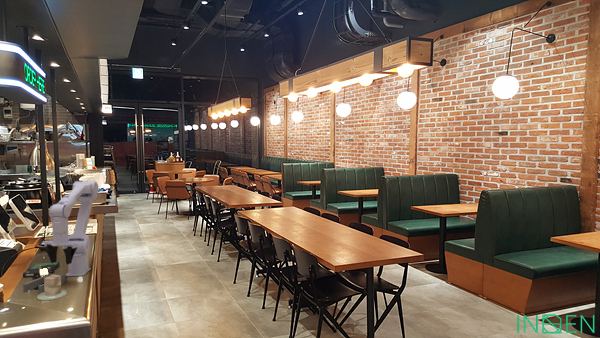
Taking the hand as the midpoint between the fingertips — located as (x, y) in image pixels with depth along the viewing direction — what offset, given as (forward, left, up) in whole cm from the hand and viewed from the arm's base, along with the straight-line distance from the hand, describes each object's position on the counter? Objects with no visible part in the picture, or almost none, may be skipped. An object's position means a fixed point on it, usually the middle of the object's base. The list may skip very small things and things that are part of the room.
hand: (61, 263), depth 168 cm
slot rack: (+3, -6, -9) cm, 11 cm away
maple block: (+12, +2, -9) cm, 15 cm away
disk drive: (-18, -16, -10) cm, 26 cm away
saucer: (+13, +2, -9) cm, 16 cm away
